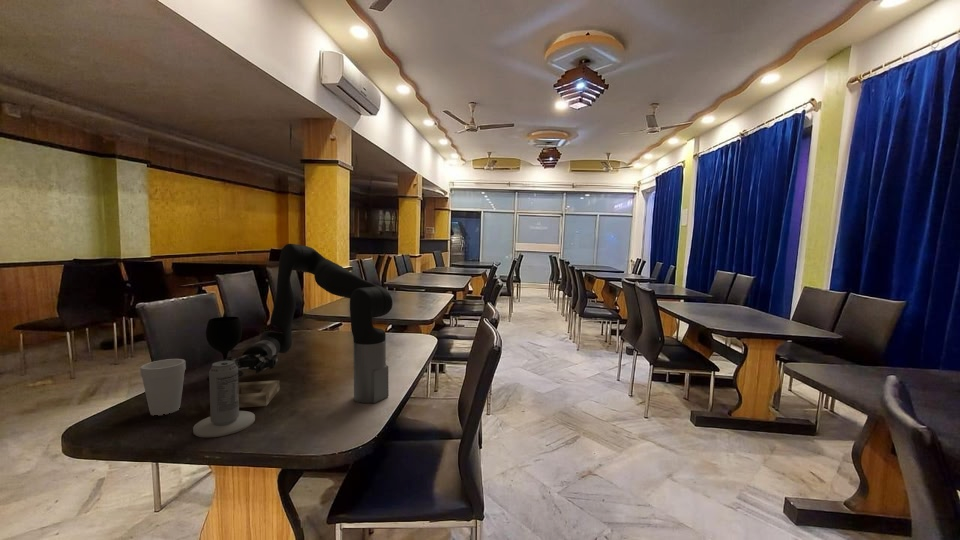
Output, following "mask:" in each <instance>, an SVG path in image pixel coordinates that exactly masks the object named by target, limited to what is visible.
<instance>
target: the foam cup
mask: <svg viewBox="0 0 960 540" xmlns="http://www.w3.org/2000/svg"><path fill="white" fill-rule="evenodd" d="M139 369H140V377H141V378H142V382H143V387H144V392H145V397H146V401H147V405H148V410H149V414H150V416H154V415H158V416H164V415H163V414H165V415H169V413H170V414H172V413H176V412H177V411H179V410H180V409H179V408H181V405H182V404H181V403H182V395H183V386H184V381H185V380H184V379H185V370H186V369H187V364H186V360H185V359H183V358H168V359H159V360H155V361H150V362H148V363H147V362H146V363H145V364H142V365H141V366H140V367H139Z"/></svg>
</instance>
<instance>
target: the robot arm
mask: <svg viewBox="0 0 960 540" xmlns="http://www.w3.org/2000/svg"><path fill="white" fill-rule="evenodd" d="M293 271H296V272H303V273H304V272H305V273H310V274H312V275H314V281H315V283H316V284H317V286H319V287H320V288H321V289H323V290H324V291H326V292H327V293H329V294H331V295H334V296H338V297H341V298H346V299H349V313H350V316H349V317H350V330H351V334H352V336H353V399H354V401H355V402H358V403H360V402H361V403H362V404H369V403H370V404H376V403H379V402H380V401H383V400H384V399H386V398H388V397H389V365H387V364H386V363H387V362H386V360H387V359H386V358H387V357H386V355H387V353H386V336H387V335H386V331H385V330H384V329H382V328H379V327H378V328H377V327H375V326H374V325H373V319H375V318H380V317H383V316H386V315H387V314H389V313H390V312H391V310H392V308H393V305H394V303H393V297H392V296H391V293H390V292H389V291H388V290H387V289H386V288H385V287H383V286H381V285H378V284H375V283H373V282H371V281H368V280H365V279H363V278H362V277H360V276H358V275H357V274H355V273H353V272H351V271H350V270H349V269H346V268H345V267H343V266H342V265H339V264H338V263H336V262H333V261H332V260H330V259H327V258H326V257H325V256H323V255H322V254H321V253H319V252H318V251H317V250H316V249H314V248H312V247H310V246H307V245H302V244H297V243H296V244H295V243H287V244H285V245H283V247H282V249H281V251H280V255H279V260H278V271H277V281H276V291H275V292H276V294H275V299H274V305H273V307H272V312H271V315H270V316H271V317H270V319H269V320H270V321H269V322H270V325H272V326H274V327H275V328H277V329H279V330H280V331H281V332H279V331H274V330H266V331H264V332H262V334H260V337H259V341H257V342H255V343H253V344H252V345H251V346H249V347H248V348H246V350H244V352H243V353H242V355H241V356H239V357H235V358H233V356H227V358H226V359H224V360H223V359H222V361H226V360H232V361H235V364H236V366H237V367H238V370H240V371H242V370H244V369H245V370H246V369H248V370H251V371H255V374H260V373H262V372H263V371H265V370H267V368H269V369H270V370H271V369H274V368H275V367H276V366H277V365H278V360H279V359H278V354H287V352H289V350H290V349H291V348H292V344H293V336H292V328H293V326H292V325H293V324H292V323H293V321H294V317H295V312H296V307H297V304H296V297H295V294H294V291H293V287H292V284H291V278H292V277H291V276H292V272H293Z"/></svg>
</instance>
